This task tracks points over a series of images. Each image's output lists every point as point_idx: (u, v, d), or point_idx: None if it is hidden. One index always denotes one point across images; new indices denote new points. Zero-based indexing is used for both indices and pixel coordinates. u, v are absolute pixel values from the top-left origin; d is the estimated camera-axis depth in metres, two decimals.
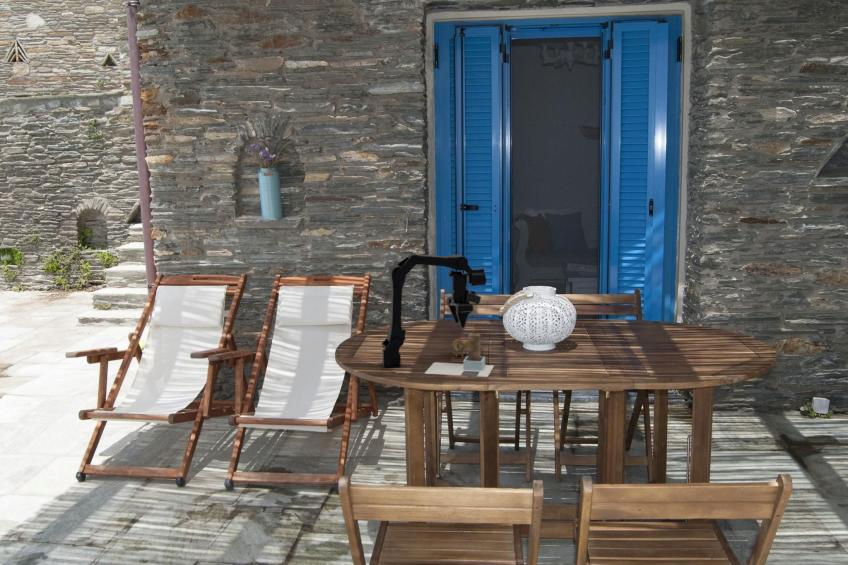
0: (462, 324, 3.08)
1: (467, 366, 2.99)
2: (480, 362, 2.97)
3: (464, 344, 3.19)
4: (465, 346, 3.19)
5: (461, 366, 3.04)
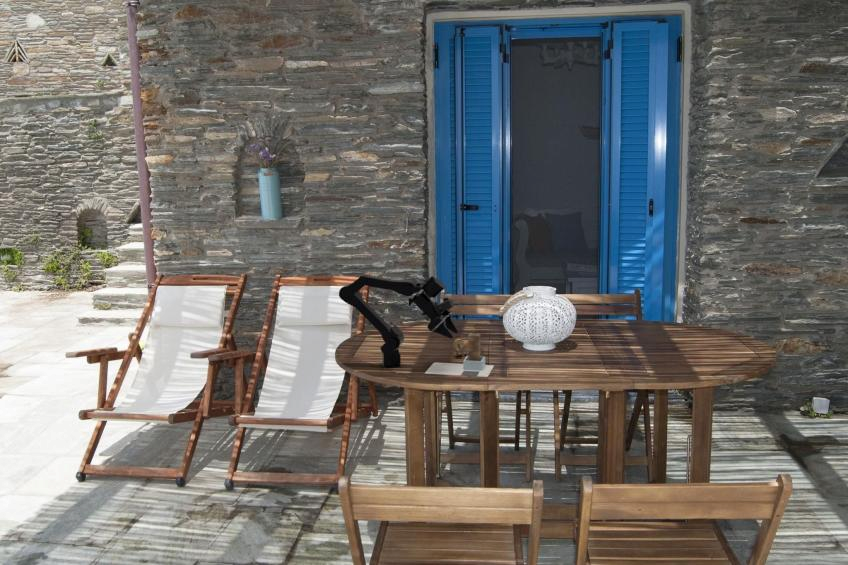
0: (449, 336, 2.97)
1: (467, 366, 2.99)
2: (480, 362, 2.97)
3: (465, 344, 3.20)
4: (466, 346, 3.20)
5: (461, 366, 3.04)
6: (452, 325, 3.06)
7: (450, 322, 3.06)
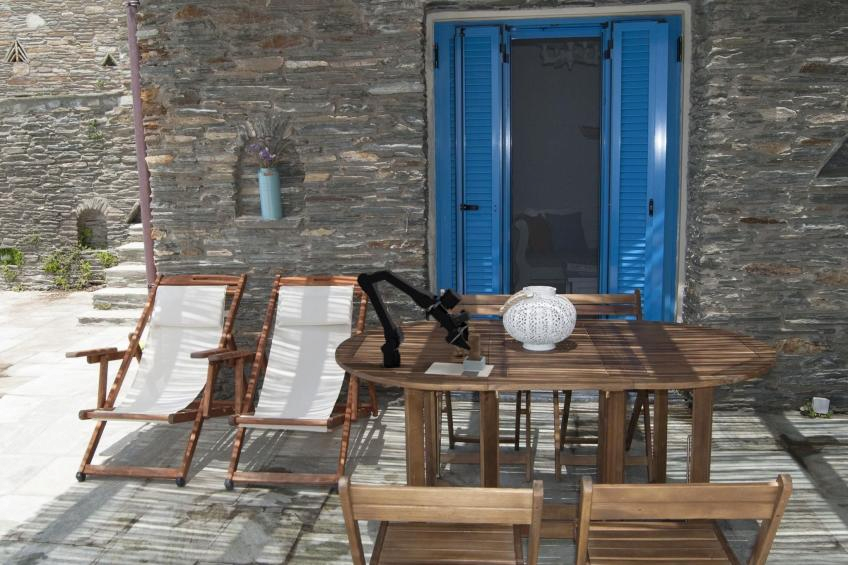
0: (466, 348, 2.96)
1: (467, 366, 2.99)
2: (480, 362, 2.97)
3: None
4: None
5: (461, 366, 3.04)
6: None
7: (467, 334, 3.05)
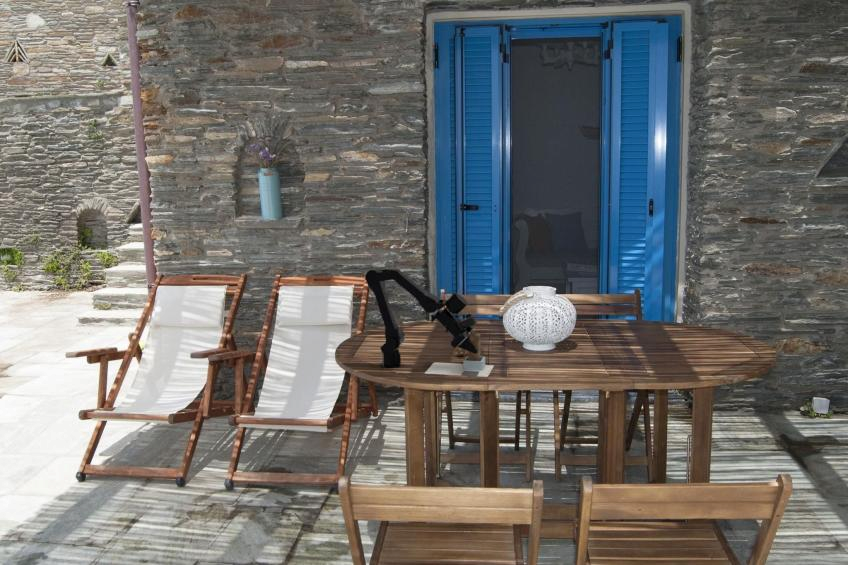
0: (473, 351, 2.98)
1: (467, 366, 2.99)
2: (480, 362, 2.97)
3: None
4: None
5: (461, 366, 3.04)
6: None
7: None
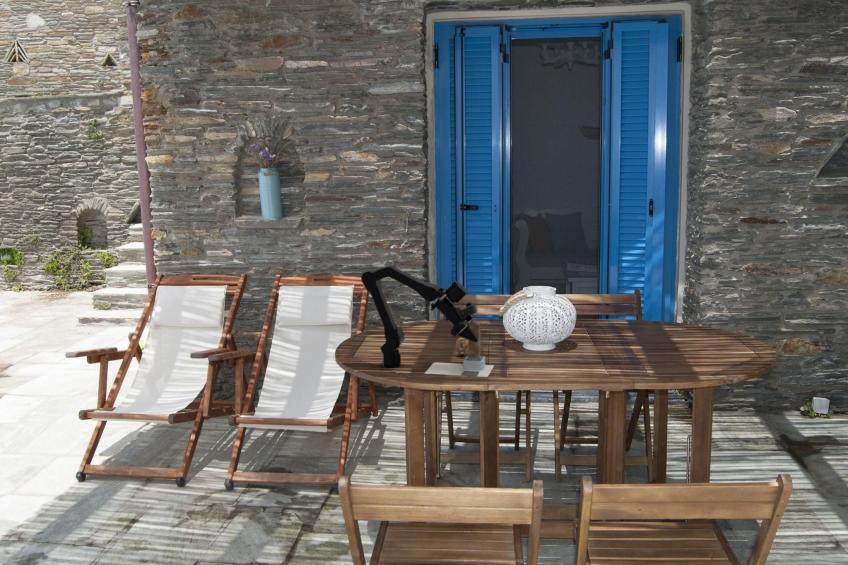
0: (473, 340, 2.97)
1: (467, 366, 2.99)
2: (480, 362, 2.97)
3: (467, 343, 3.21)
4: None
5: (461, 366, 3.04)
6: None
7: None
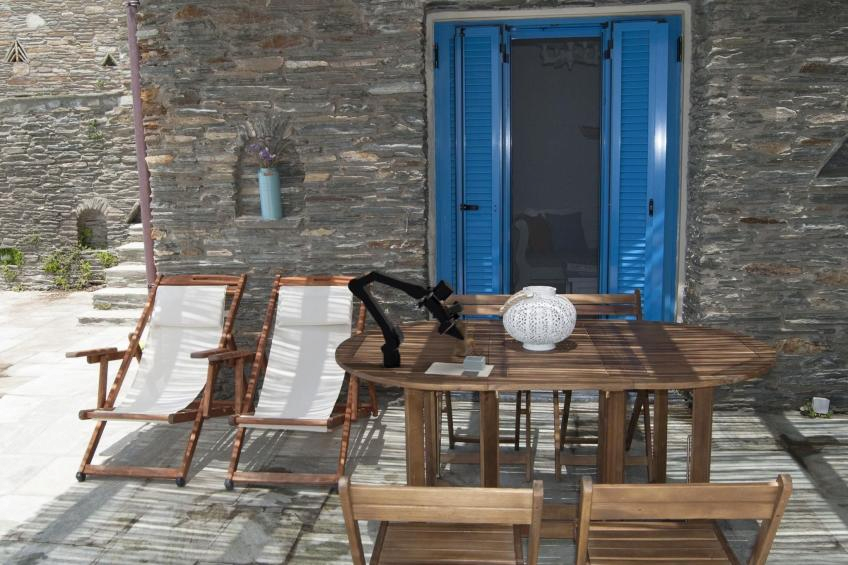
0: (460, 338, 2.99)
1: (467, 366, 2.99)
2: (480, 362, 2.97)
3: (467, 343, 3.21)
4: (468, 345, 3.21)
5: (461, 366, 3.04)
6: None
7: None
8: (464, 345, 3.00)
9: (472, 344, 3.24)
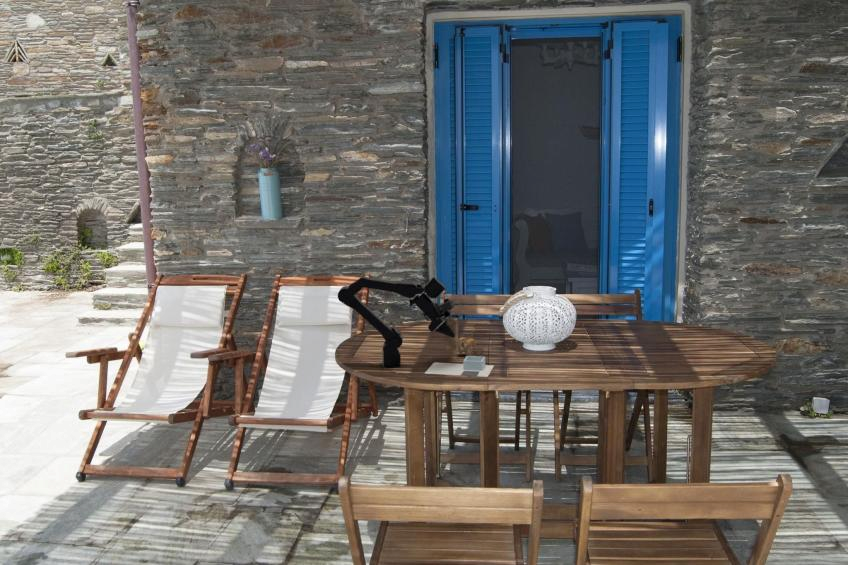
0: (451, 335, 3.02)
1: (467, 366, 2.99)
2: (480, 362, 2.97)
3: (468, 343, 3.21)
4: (469, 345, 3.22)
5: (461, 366, 3.04)
6: None
7: None
8: (455, 342, 3.03)
9: (472, 344, 3.24)
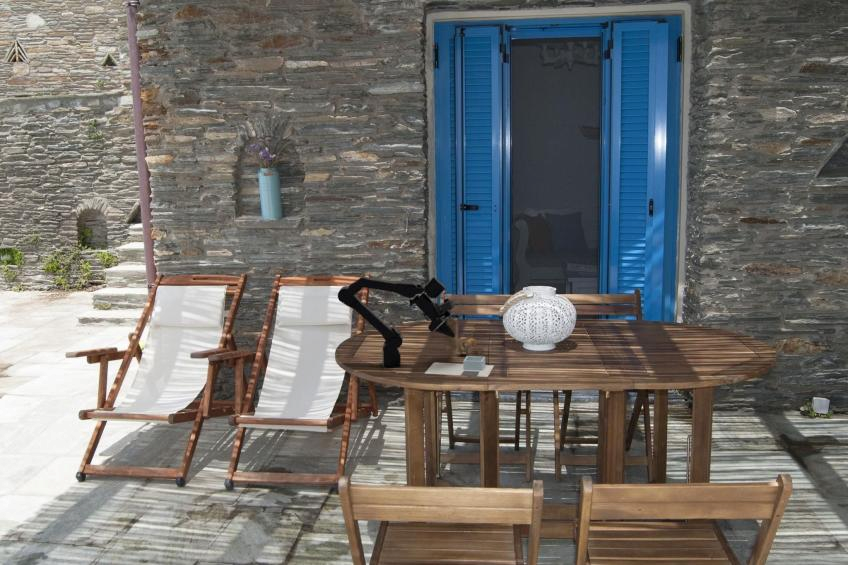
0: (451, 335, 3.02)
1: (467, 366, 2.99)
2: (480, 362, 2.97)
3: (469, 342, 3.22)
4: (470, 344, 3.22)
5: (461, 366, 3.04)
6: None
7: None
8: (455, 342, 3.03)
9: (473, 344, 3.24)
